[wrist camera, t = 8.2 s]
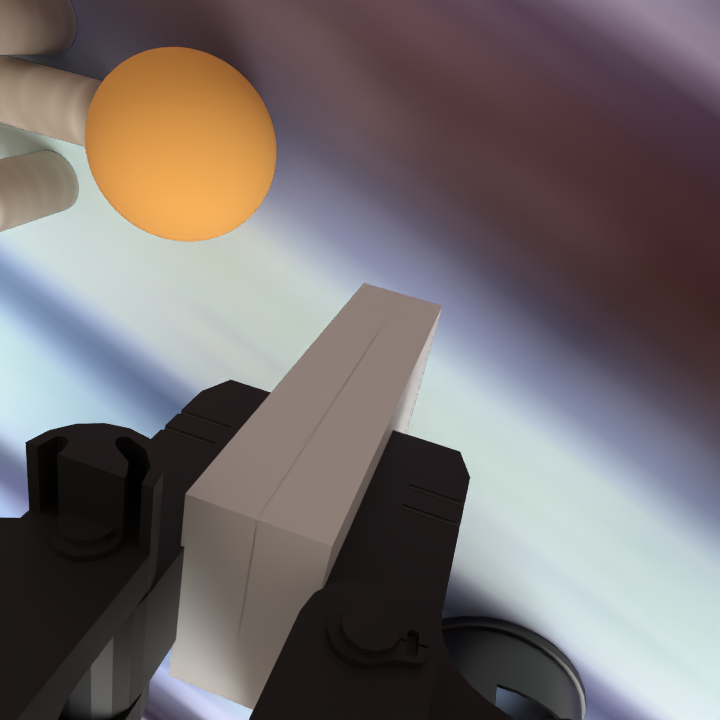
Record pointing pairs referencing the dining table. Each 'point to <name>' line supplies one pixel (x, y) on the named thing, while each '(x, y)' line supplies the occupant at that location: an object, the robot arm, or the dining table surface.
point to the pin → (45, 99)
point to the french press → (514, 664)
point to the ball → (180, 144)
